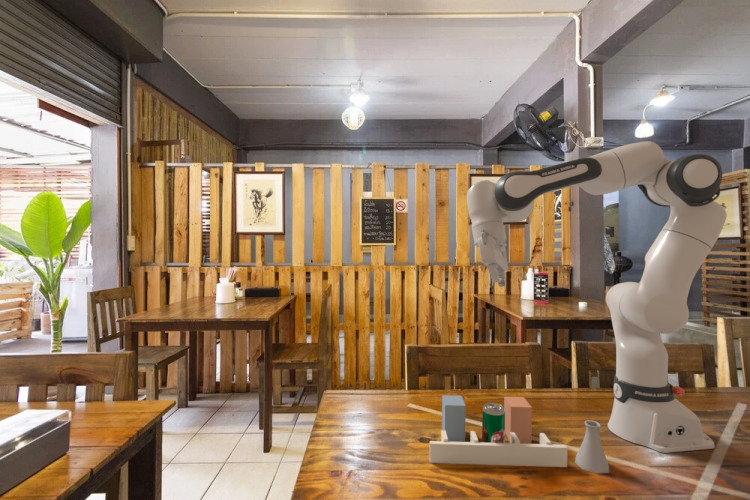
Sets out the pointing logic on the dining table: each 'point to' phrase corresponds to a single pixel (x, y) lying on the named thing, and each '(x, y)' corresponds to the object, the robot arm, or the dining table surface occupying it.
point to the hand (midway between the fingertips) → (499, 284)
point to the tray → (498, 452)
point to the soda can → (493, 423)
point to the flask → (592, 450)
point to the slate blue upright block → (453, 417)
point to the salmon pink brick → (518, 418)
